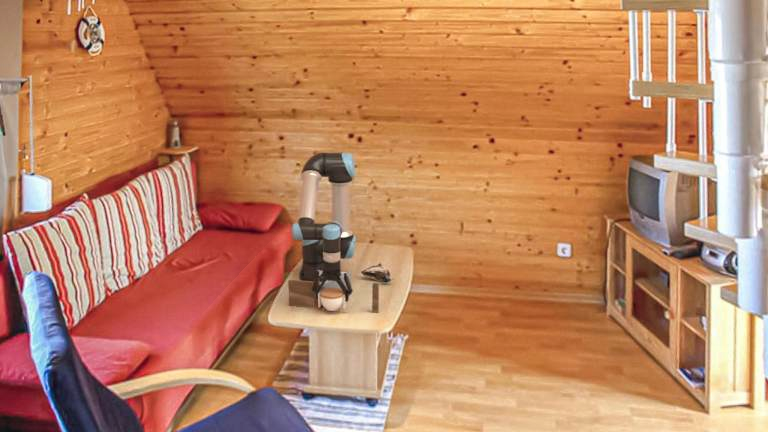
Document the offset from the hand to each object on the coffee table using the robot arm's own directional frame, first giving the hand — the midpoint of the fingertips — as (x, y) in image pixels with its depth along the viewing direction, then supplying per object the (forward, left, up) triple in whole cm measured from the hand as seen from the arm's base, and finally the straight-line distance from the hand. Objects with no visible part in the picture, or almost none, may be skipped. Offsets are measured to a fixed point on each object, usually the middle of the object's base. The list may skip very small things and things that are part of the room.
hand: (332, 307), depth 314 cm
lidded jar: (0, 0, -1) cm, 1 cm away
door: (-13, -2, -2) cm, 13 cm away
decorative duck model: (-42, +12, -3) cm, 44 cm away
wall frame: (-4, 0, -2) cm, 4 cm away
